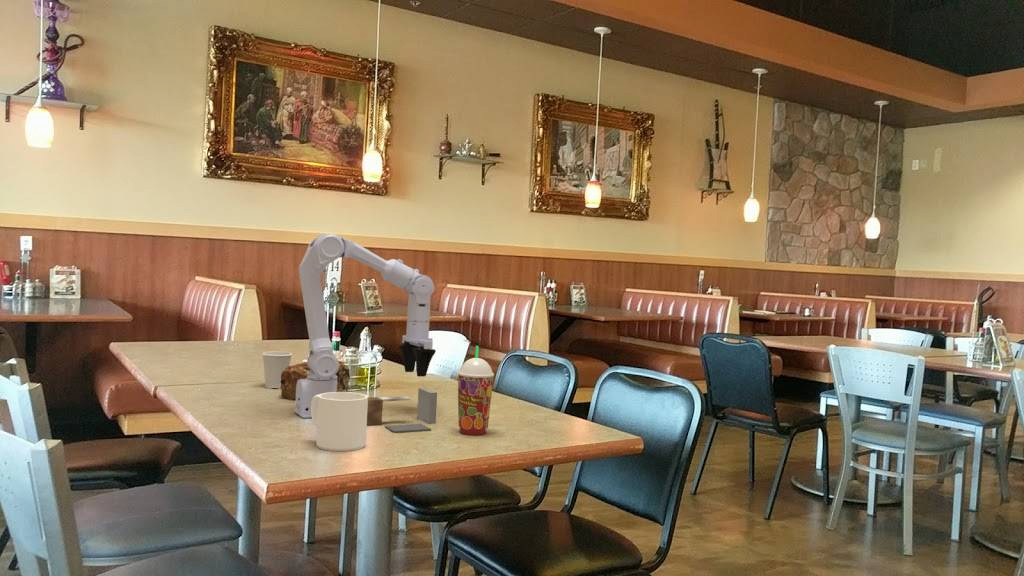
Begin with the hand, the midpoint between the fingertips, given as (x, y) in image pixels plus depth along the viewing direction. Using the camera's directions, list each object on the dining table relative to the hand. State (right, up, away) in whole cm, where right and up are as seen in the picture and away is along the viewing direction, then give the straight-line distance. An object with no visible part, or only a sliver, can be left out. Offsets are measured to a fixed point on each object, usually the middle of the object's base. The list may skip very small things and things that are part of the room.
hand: (415, 374), depth 199 cm
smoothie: (+16, -11, -20) cm, 28 cm away
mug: (-12, -11, -38) cm, 42 cm away
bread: (-30, -8, +16) cm, 35 cm away
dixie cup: (-44, -7, +26) cm, 51 cm away
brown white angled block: (-5, -10, -15) cm, 19 cm away
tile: (+4, -10, -10) cm, 15 cm away
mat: (+1, -10, -20) cm, 23 cm away
